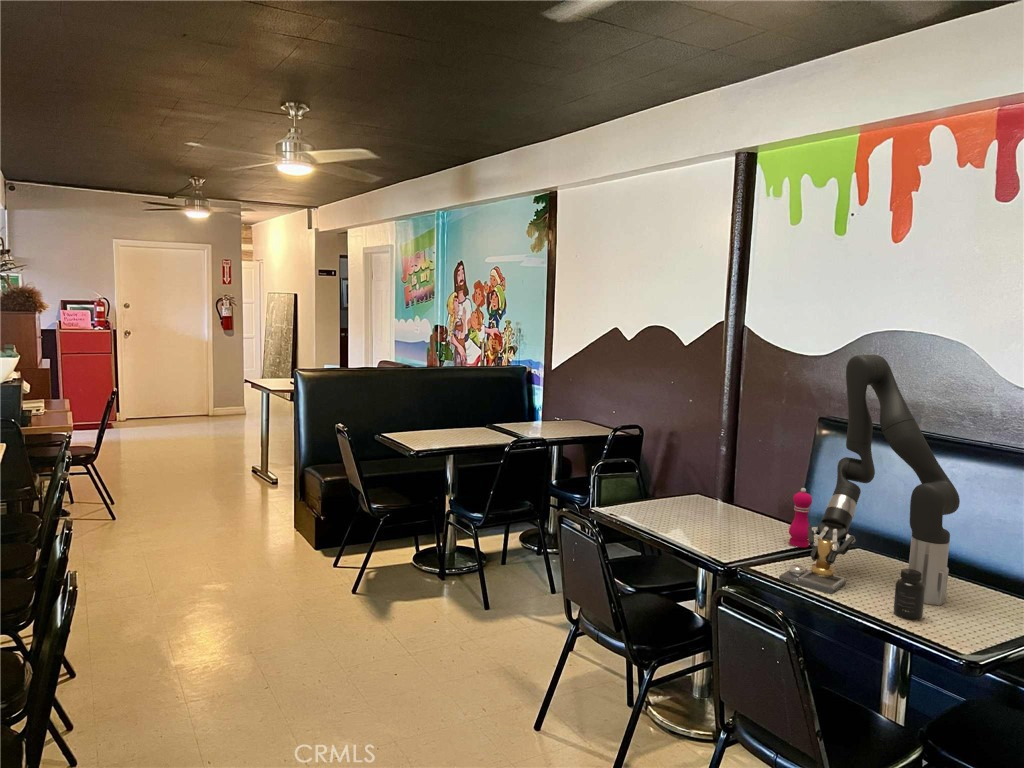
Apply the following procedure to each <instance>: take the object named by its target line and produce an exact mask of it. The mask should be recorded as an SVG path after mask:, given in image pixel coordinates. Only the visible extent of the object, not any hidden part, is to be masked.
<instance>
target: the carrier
mask: <svg viewBox="0 0 1024 768" xmlns="http://www.w3.org/2000/svg"><path fill="white" fill-rule="evenodd" d="M811 570H812V568H811V569H810V570H809V569H806V567H805V566H803V565H799V564H790V565H789V569H788V570H787V571H785V572H783V573H782V574H780V575H779V577H778V579H779V581H782V580H783V582H785V583H790V584H792V585H793V584H794V585H797V586H801V587H804V588H807V589H812V590H814V591H818V592H822V593H825V594H827V595H828V594H829V595H833V594H834V593H835V592H836V591H838V590H839V589H840V588H842V587H844V586H845V585H846V583H847V578H845V577H842V576H837V575H835V574H834V576H833V577H829V578H826V577H820V576H816V575H814V574H812V573H811Z"/></svg>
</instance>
